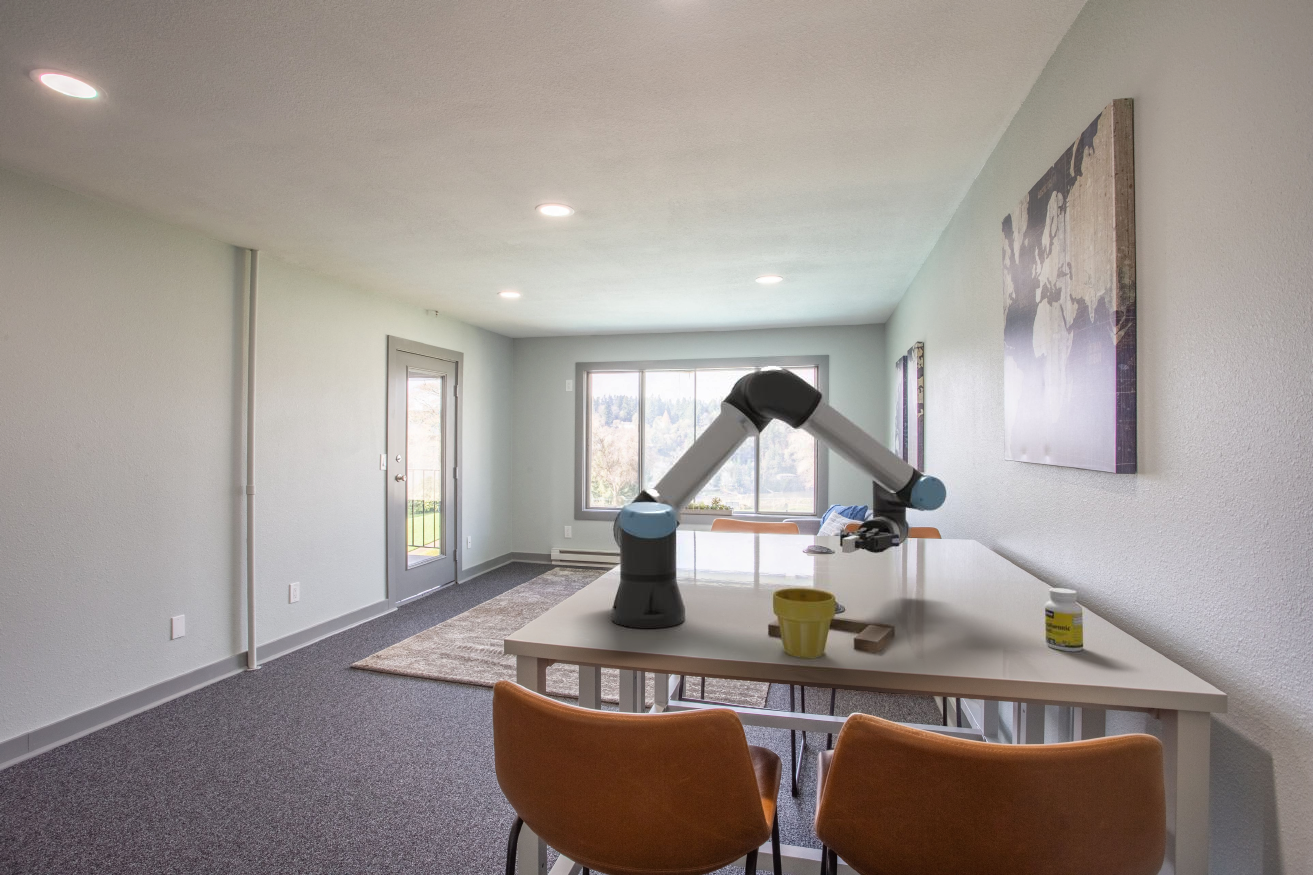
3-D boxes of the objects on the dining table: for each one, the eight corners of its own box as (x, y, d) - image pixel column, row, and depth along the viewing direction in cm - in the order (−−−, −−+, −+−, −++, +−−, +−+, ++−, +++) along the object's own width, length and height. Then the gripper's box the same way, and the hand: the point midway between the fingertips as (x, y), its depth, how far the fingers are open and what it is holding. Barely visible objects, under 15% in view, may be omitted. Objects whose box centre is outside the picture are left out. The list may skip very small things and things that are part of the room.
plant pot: (839, 663, 99) (838, 602, 99) (774, 660, 100) (773, 600, 101) (832, 644, 109) (831, 588, 109) (773, 641, 111) (772, 586, 111)
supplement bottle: (1038, 644, 108) (1037, 588, 108) (1059, 641, 110) (1057, 585, 110) (1070, 653, 103) (1068, 594, 103) (1090, 649, 105) (1089, 591, 105)
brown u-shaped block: (768, 633, 115) (768, 624, 115) (792, 619, 125) (792, 610, 125) (877, 652, 104) (877, 641, 104) (895, 635, 114) (895, 625, 114)
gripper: (908, 553, 137) (879, 568, 118) (849, 548, 145) (814, 561, 125) (908, 520, 137) (879, 529, 118) (849, 516, 145) (814, 524, 125)
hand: (846, 545), depth 122 cm, fingers closed
